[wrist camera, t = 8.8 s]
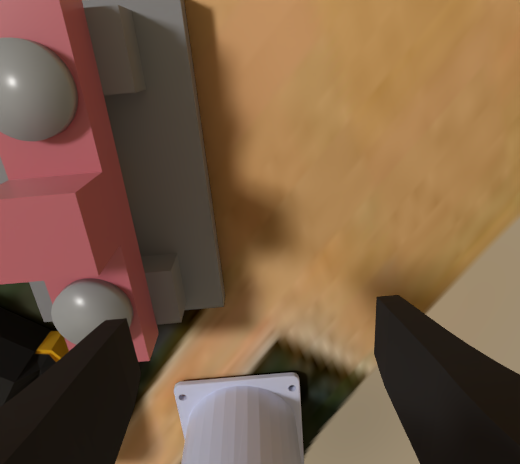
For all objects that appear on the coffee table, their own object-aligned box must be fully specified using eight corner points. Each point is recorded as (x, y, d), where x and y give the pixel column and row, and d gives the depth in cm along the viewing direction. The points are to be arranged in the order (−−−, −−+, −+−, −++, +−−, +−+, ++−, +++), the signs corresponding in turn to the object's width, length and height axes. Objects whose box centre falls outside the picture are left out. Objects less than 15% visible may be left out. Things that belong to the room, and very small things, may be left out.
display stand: (225, 294, 23) (221, 327, 20) (53, 309, 23) (27, 343, 20) (183, -5, 17) (170, -17, 14) (-50, 17, 17) (-108, 8, 14)
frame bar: (158, 333, 20) (135, 404, 16) (90, 339, 20) (49, 411, 16) (80, -7, 14) (9, -35, 10) (-18, 1, 14) (-128, -23, 10)
